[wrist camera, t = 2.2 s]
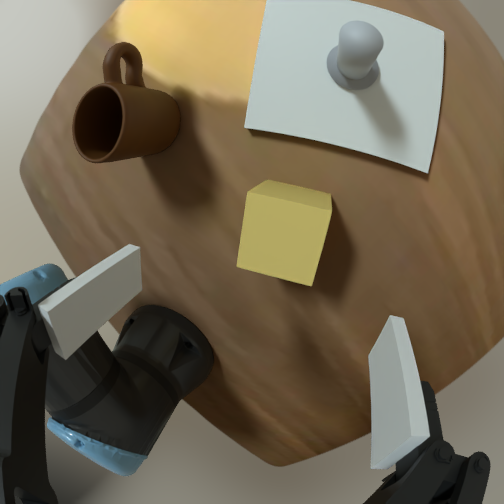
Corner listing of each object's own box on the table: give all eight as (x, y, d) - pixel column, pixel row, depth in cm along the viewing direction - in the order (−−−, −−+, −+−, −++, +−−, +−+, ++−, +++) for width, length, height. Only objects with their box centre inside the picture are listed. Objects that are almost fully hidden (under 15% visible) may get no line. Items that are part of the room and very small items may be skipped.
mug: (138, 59, 24) (82, 46, 16) (193, 53, 23) (142, 29, 14) (127, 152, 29) (69, 163, 21) (179, 157, 28) (123, 167, 19)
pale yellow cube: (257, 238, 29) (236, 266, 23) (267, 179, 26) (247, 191, 20) (316, 253, 28) (311, 286, 22) (330, 194, 25) (332, 211, 19)
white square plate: (247, 128, 25) (212, 123, 17) (270, -5, 18) (247, -48, 10) (424, 172, 22) (462, 186, 14) (440, 34, 15) (473, 5, 7)
